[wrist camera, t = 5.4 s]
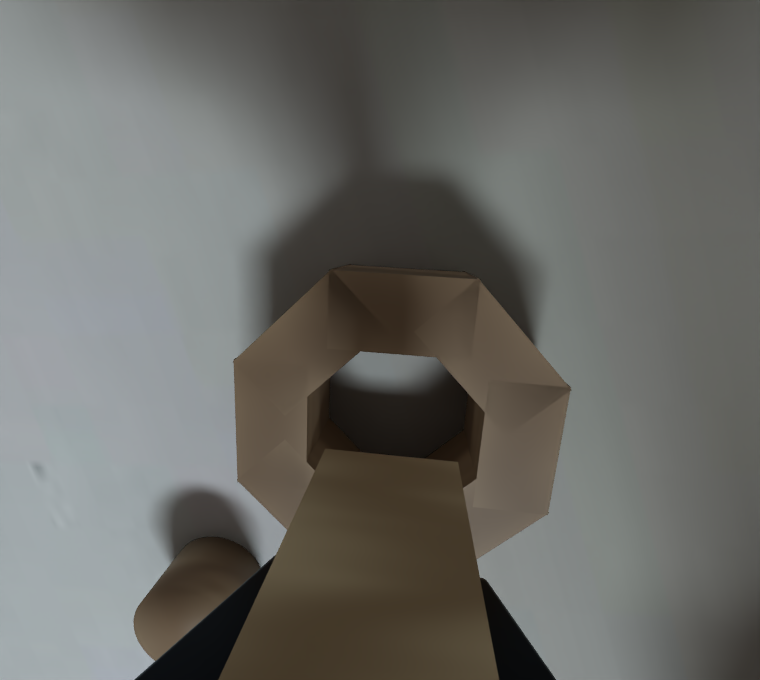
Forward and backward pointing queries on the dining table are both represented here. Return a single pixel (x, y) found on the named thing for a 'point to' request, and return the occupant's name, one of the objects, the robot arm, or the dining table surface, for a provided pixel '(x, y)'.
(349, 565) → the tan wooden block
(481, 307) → the wooden octagonal ring
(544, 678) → the robot arm
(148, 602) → the loose bead
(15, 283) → the dining table surface
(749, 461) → the dining table surface
